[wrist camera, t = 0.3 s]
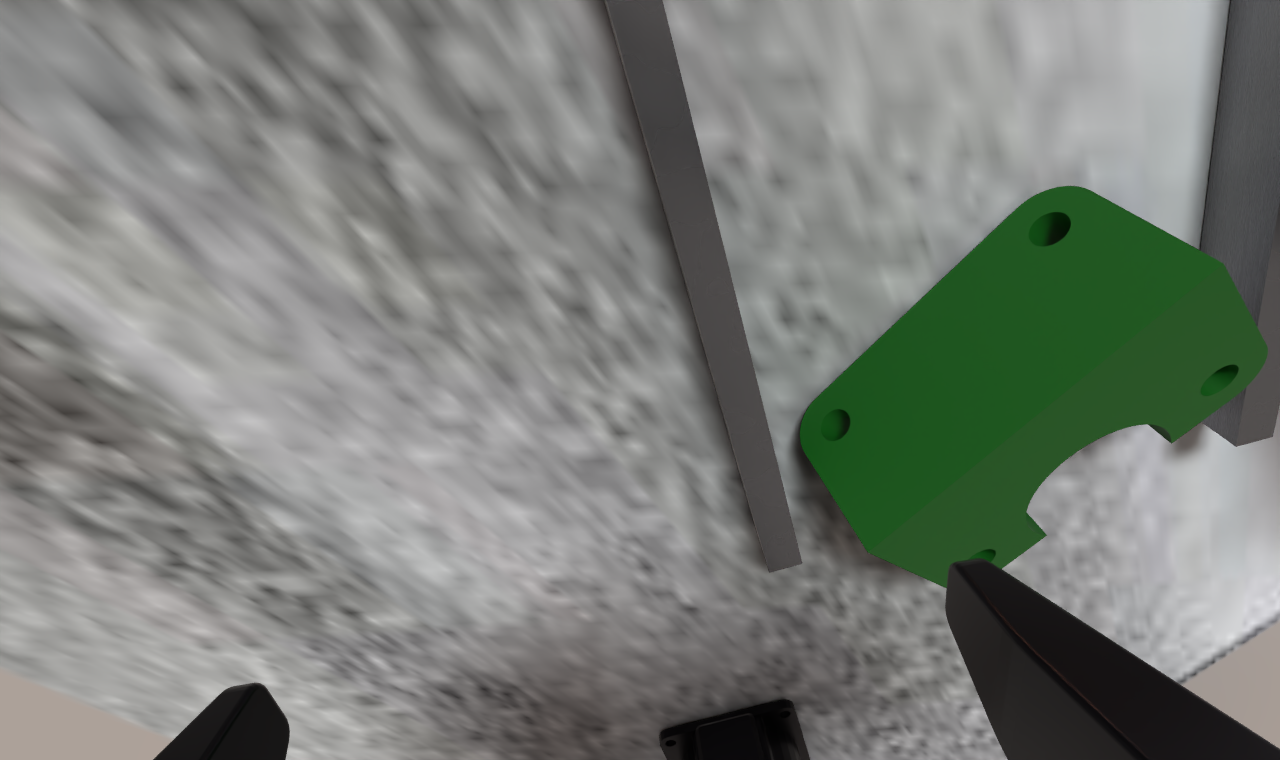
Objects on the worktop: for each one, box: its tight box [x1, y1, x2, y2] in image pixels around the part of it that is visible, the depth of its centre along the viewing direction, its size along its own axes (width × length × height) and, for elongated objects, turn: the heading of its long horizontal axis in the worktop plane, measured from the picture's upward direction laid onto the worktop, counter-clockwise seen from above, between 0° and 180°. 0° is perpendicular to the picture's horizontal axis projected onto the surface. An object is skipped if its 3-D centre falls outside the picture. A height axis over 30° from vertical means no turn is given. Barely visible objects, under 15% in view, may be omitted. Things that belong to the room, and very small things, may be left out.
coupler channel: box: [604, 0, 1280, 572], centre depth 19 cm, size 24×17×4 cm
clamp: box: [800, 186, 1268, 588], centre depth 22 cm, size 12×6×9 cm, turn 135°
